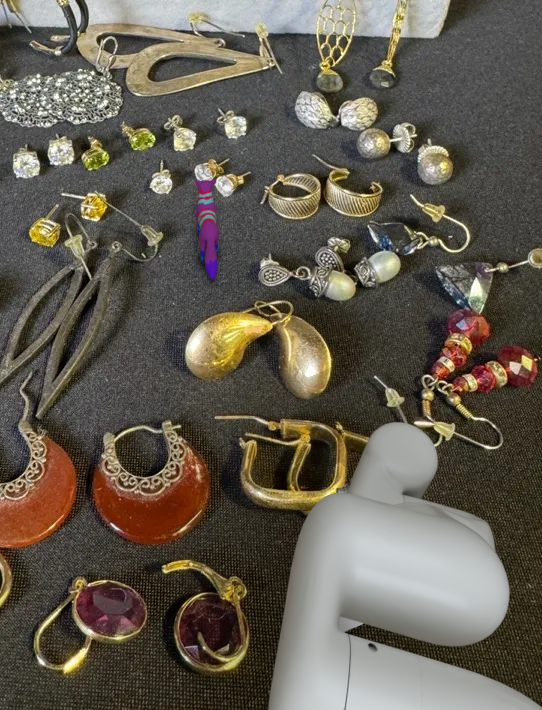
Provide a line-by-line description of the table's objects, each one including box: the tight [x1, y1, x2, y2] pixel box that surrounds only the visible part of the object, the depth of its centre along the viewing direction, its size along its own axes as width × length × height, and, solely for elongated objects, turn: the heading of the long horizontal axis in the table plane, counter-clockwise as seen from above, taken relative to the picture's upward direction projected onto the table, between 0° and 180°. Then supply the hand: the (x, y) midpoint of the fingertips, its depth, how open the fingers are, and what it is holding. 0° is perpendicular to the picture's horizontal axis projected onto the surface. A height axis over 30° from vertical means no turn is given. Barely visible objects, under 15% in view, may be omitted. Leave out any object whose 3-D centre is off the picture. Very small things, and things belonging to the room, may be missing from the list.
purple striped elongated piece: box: [194, 178, 220, 280], centre depth 140 cm, size 4×18×10 cm, turn 4°
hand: (352, 552), depth 108 cm, fingers closed
